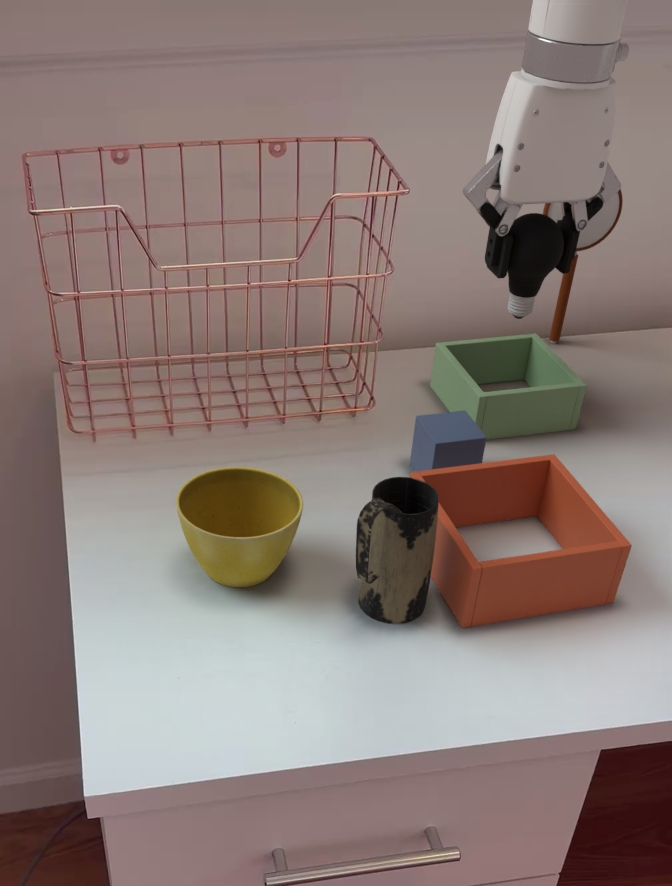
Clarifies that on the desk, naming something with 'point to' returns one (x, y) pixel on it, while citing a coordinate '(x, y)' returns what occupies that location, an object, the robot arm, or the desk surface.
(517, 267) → the light bulb
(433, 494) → the mug
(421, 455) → the block
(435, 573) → the block bin
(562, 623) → the desk surface
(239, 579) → the yellow bowl
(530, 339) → the bulb bin
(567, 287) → the magnifying glass
